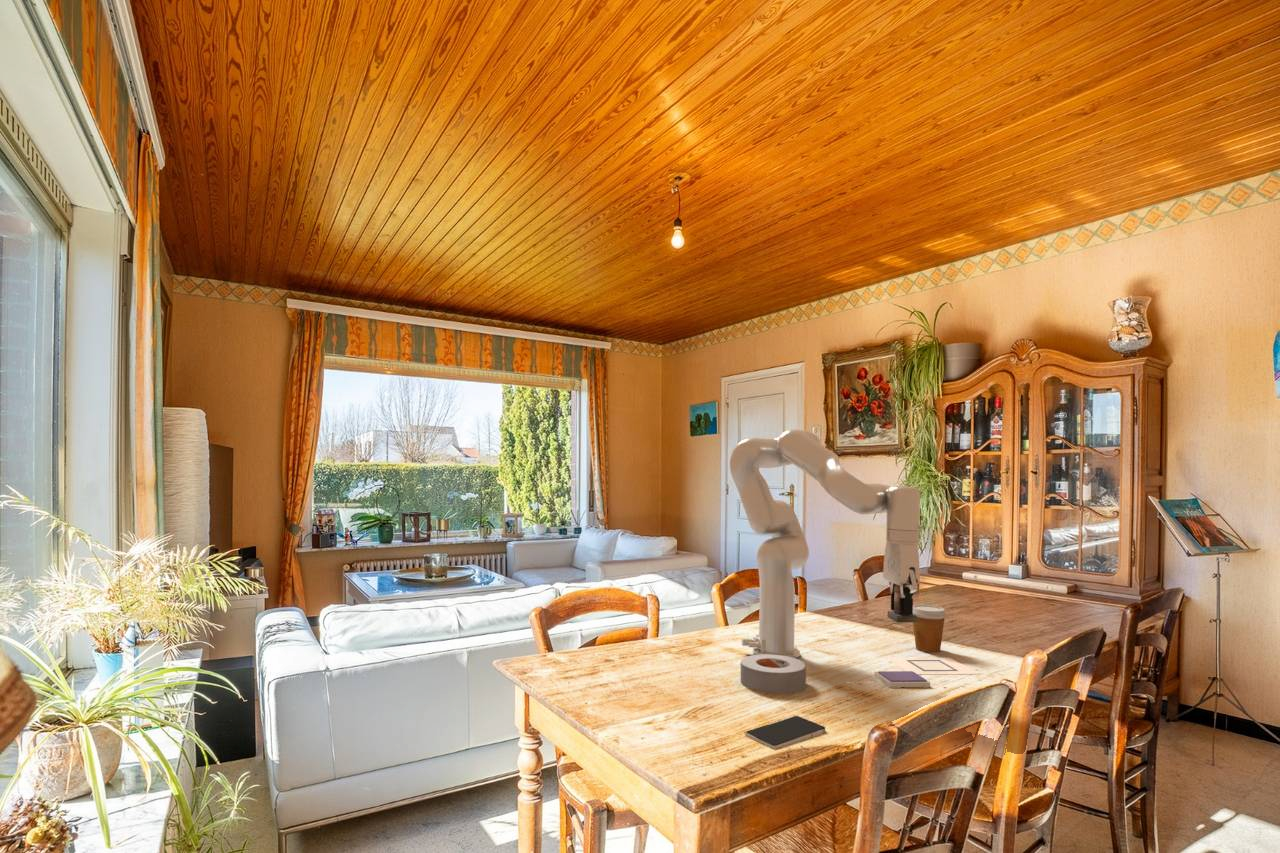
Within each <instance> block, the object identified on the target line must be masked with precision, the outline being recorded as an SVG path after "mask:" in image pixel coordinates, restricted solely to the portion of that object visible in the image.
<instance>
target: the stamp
mask: <svg viewBox="0 0 1280 853" xmlns="http://www.w3.org/2000/svg"><path fill="white" fill-rule="evenodd" d="M904 585H909V583H907V582H906V583H905V584H904ZM906 588H909V587H905V590H906ZM894 592H895V595H894V611H893V610H888V611H887V618H888V619H890V620H892V621H893V622H895V623H913V622H917V616H916V615H914V614H912V615H901V614H899V597H901V590H900V585H897V584H896V585H895V587H894Z"/></svg>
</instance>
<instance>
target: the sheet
mask: <svg viewBox="0 0 1280 853" xmlns="http://www.w3.org/2000/svg"><path fill="white" fill-rule="evenodd" d="M886 659H887V660H888V661H890V662H891V663H893V664H894V665H896V666H898V667H899V668H900V669H902V671H913V672H915V673H916V674H918V675H919V676H921V675H923V676H929V675H930V676H932V675H933V676H935V675H936V676H937V675H938V676H939V675H941V676H942V675H946V676H947V675H951V676H953V675H980V673H979V672H978V671H975V670H973V669H971V668H969V667H968V666H966V665H964V664H962V663H960V662H959V661H957V660H955V659H953V658H951V657H886Z"/></svg>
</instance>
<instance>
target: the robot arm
mask: <svg viewBox="0 0 1280 853" xmlns="http://www.w3.org/2000/svg"><path fill="white" fill-rule="evenodd" d="M821 443H822V442H821V440H820V439H819V437H818V435H816V433H814V432H812V431H809V430H802V429H789V430H786V431H784V432H783V433H782V434H780V435H779V437H777V438H762V437H749V438H744V439H742V440H741V441H740V442H739V443H737V444H736V445H735V447H734V448H733V450H732V452H731V455H730V458H729V471H730V474H731V477H732V480H733V482H734V485H735V487H736V489H737V492H738V495H739V498H740V500H741V503H742V506H743V510H744V511H745V515H746V518H747V520H748V523H749V526H750V528H751V529H752V531H753V532H755V533H756V535H757V534H758V535H762V536H765V535H766V536H767V535H771V538H769V539H767V540H766V539H765V541H764V542H762V543H761V544H760V546H759V547H758V548H757V552H756V562H757V568H758V569H757V570H758V578H759V606H758V607H759V614H758V617H759V618H758V627H759V628H758V634H755V637H752V638H741V646H742V647H748V648H753V649H752V652H753V655H760V654H771V655H781V656H787V657H792V658H796V659H798V658H799V657H800V656H801V651H800V649H799V648H796V647H795V612H796V611H795V609H796V608H795V607H796V606H795V604H796V602H795V601H796V600H795V599H796V596H795V593H796V592H795V590H796V589H795V588H796V587H795V581H794V577H793V572H792V571H795V570H798V569H801V568H803V567H804V566H805V565H806V563H807V562H808V560H809V556H810V555H809V554H810V551H809V549H810V548H809V545H808V542H807V540H806V538H805V537H806V536H805V535H804V533H803V529H802V527H801V524H800V522H799V519H798V516H797V514H796V512H795V510H794V509H793V507H792V506H791V505H790V504H789V503H788V502H786V501H783V500H780V499H774V497H773V495H772V493H771V491H770V488H769V484H768V483H767V481H766V479H765V478H764V476H763V475H762V474H761V471H760V468H761V469H765V468H766V469H772V468H773V469H774V468H775V469H776V468H780V467H785V466H790V465H794V466H796V467H797V468H799V469H800V470H801V471H803V472H805V473H806V474H807V475H808V476H810V477H811V478H813V479H814V480H816V481H817V482H818V483H819V484H820V485H821V487H822V488H823V489H824V490H825V492H826V493H827V494H829V495H830V496H831V498H833V499H835V500H836V501H837V502H839V503H840V504H842V505H843V506H845V507H846V508H847V509H849V510H851V511H853V512H854V513H855V514H859V515H872V514H874V515H875V514H882V513H884V514H885V513H886V533H885V534H886V539H885V540H886V542H885V543H886V544H885V547H884V555H883V556H884V558H883V571H882V572H883V573H882V574H883V575H882V576H883V578H884V580H885V581H888V583H889V586H890V587H889V592H890V611H894V595H895V592H894V587H895V585H896V584H897V585H900V590H901V597H899V614H901V615H912V614H913V606H914V598H915V593H916V592H917V591H918V590H919V586H918V585H919V583H920V555H919V554H920V553H919V544H920V509H921V508H920V505H921V504H920V499H921V498H920V496H921V494H920V490H919V488H917V487H916V486H915V487H914V486H907V485H906V486H905V485H885V484H882V483H866V482H865V483H864V482H863V481H861V480H860V479H858V478H857V477H855V476H854V475H853V474H851V473H849V472H848V471H847V470H846V469H844V467H842V465H841V463H840V457H839V456H838V454H836V453H835V452H833V451H831V450H830V449H828V448H827V447H826V446H824V445H823V444H821ZM905 583H907V584H908V585H904V584H905ZM905 587H909V588H906V590H905Z"/></svg>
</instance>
